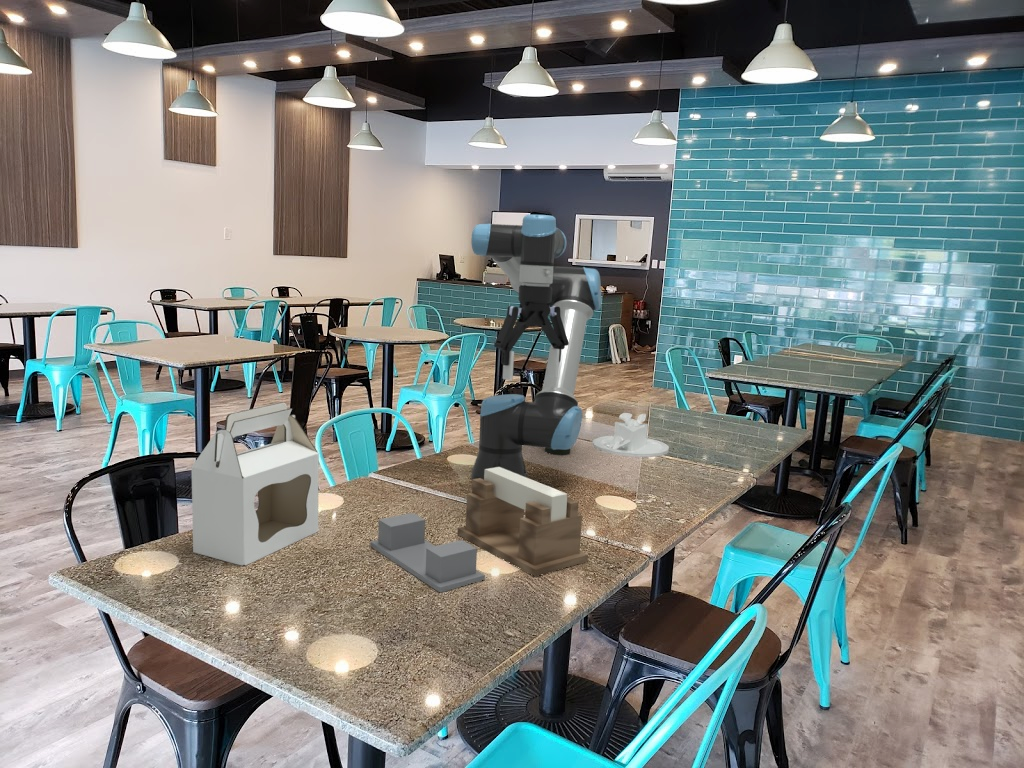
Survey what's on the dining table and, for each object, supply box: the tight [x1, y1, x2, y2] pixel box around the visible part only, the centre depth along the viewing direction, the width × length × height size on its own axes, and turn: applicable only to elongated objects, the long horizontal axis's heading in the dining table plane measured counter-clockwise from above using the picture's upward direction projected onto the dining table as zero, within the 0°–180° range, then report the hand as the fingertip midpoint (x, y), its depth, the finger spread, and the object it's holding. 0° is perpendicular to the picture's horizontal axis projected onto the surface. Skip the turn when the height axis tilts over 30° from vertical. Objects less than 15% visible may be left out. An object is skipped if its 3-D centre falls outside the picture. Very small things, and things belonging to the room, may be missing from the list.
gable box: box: [191, 401, 320, 567], centre depth 154 cm, size 22×13×28 cm, turn 155°
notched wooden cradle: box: [457, 478, 589, 577], centre depth 159 cm, size 26×14×12 cm, turn 39°
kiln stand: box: [369, 512, 486, 593], centre depth 149 cm, size 26×10×6 cm, turn 39°
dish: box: [591, 412, 670, 458], centre depth 250 cm, size 25×25×11 cm
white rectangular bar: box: [484, 467, 568, 522], centre depth 158 cm, size 22×4×5 cm, turn 39°
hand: (530, 378), depth 175 cm, fingers open, 13 cm apart
